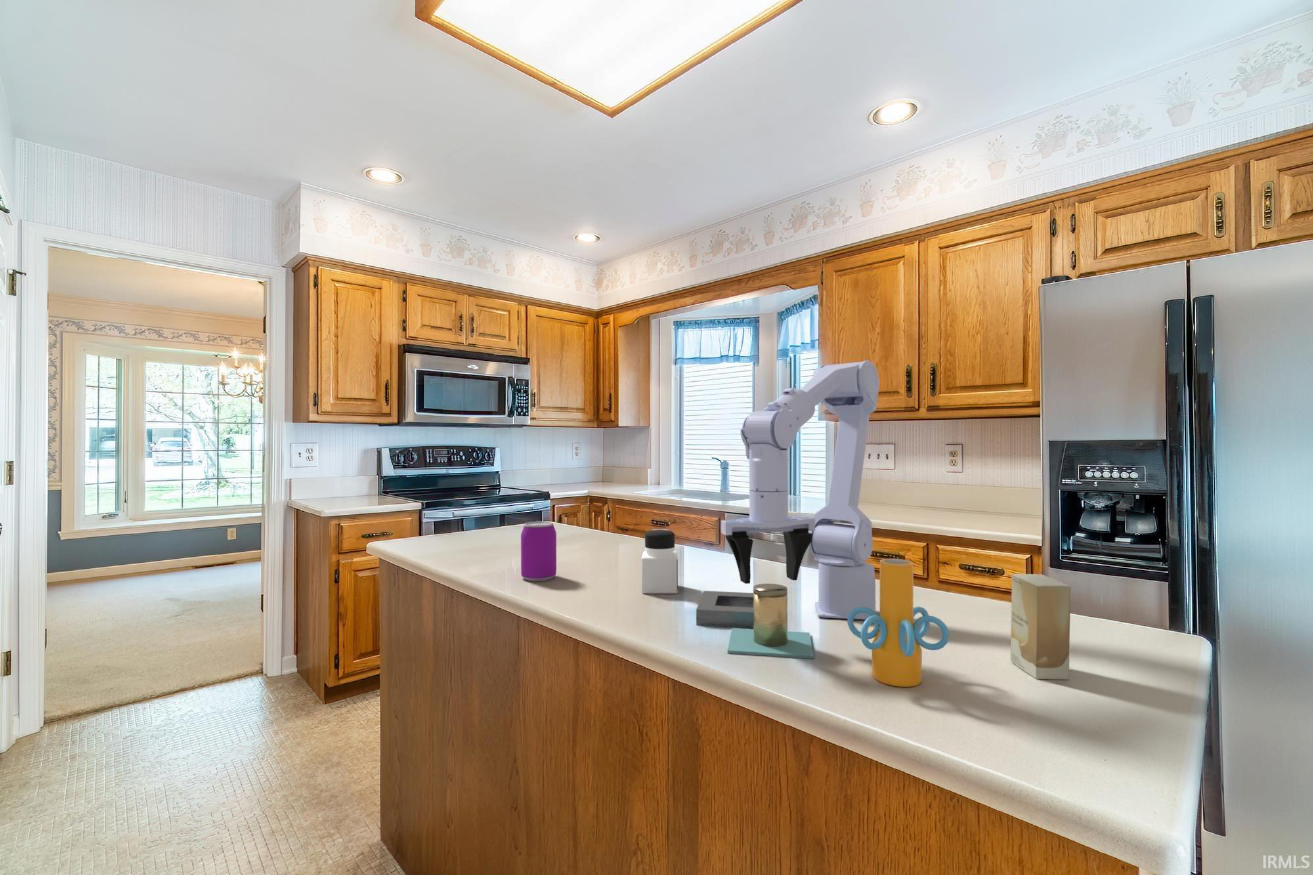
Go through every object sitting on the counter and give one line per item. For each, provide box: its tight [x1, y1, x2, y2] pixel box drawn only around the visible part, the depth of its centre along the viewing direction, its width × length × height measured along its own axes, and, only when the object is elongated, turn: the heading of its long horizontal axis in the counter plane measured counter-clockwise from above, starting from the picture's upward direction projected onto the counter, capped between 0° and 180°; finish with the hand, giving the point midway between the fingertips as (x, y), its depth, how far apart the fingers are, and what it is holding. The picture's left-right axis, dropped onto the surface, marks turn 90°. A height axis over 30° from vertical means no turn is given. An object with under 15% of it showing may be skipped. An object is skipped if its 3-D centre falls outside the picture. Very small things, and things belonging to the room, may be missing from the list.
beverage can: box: [520, 520, 557, 582], centre depth 131 cm, size 8×8×12 cm
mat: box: [727, 627, 815, 660], centre depth 90 cm, size 12×10×1 cm
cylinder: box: [847, 558, 950, 688], centre depth 77 cm, size 12×10×15 cm
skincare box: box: [1010, 573, 1072, 680], centre depth 79 cm, size 6×4×12 cm
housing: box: [695, 590, 754, 629], centre depth 104 cm, size 12×12×2 cm
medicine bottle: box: [641, 528, 679, 595], centre depth 121 cm, size 7×7×12 cm
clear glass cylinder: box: [752, 583, 788, 647], centre depth 90 cm, size 5×5×8 cm
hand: (768, 580), depth 90 cm, fingers open, 7 cm apart
